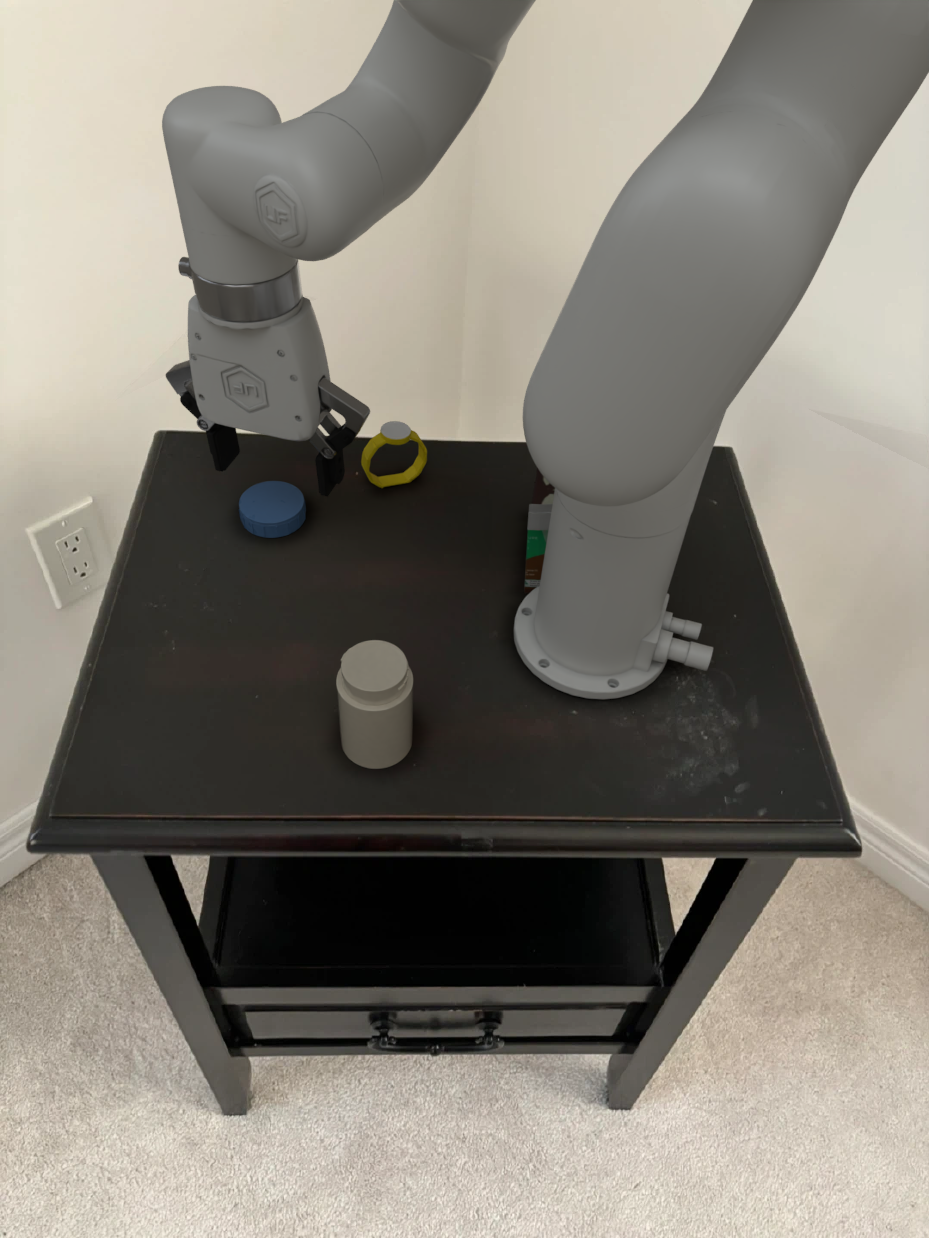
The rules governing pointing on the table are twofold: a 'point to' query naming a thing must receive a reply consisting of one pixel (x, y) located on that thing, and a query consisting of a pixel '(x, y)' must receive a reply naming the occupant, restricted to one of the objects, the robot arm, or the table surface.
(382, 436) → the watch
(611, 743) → the table surface
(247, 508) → the lid
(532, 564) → the food container
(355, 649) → the jar
